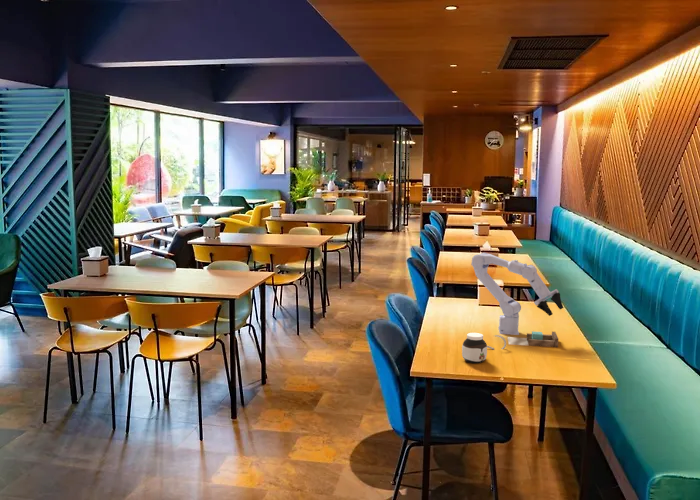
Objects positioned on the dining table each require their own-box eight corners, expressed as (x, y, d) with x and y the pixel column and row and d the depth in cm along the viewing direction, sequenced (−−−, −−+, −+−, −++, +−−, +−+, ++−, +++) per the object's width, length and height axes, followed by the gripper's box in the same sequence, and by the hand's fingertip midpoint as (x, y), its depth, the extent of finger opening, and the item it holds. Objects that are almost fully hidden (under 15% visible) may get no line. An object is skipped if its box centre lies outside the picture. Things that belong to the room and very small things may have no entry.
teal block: (532, 343, 291) (532, 334, 291) (531, 340, 296) (532, 331, 295) (542, 343, 291) (542, 334, 290) (541, 341, 295) (541, 332, 294)
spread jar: (469, 365, 262) (470, 338, 260) (454, 357, 272) (455, 331, 271) (492, 361, 267) (494, 335, 265) (477, 354, 277) (478, 328, 275)
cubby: (508, 345, 290) (509, 335, 289) (507, 338, 302) (507, 328, 301) (557, 348, 286) (558, 338, 285) (554, 341, 297) (555, 331, 297)
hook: (507, 353, 278) (462, 356, 283) (507, 347, 287) (463, 349, 292) (505, 337, 277) (460, 340, 283) (505, 331, 286) (461, 334, 292)
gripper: (533, 290, 292) (550, 315, 288) (554, 278, 298) (571, 302, 295) (526, 296, 298) (542, 320, 294) (546, 284, 304) (563, 307, 301)
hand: (556, 311), depth 295 cm, fingers open, 7 cm apart
